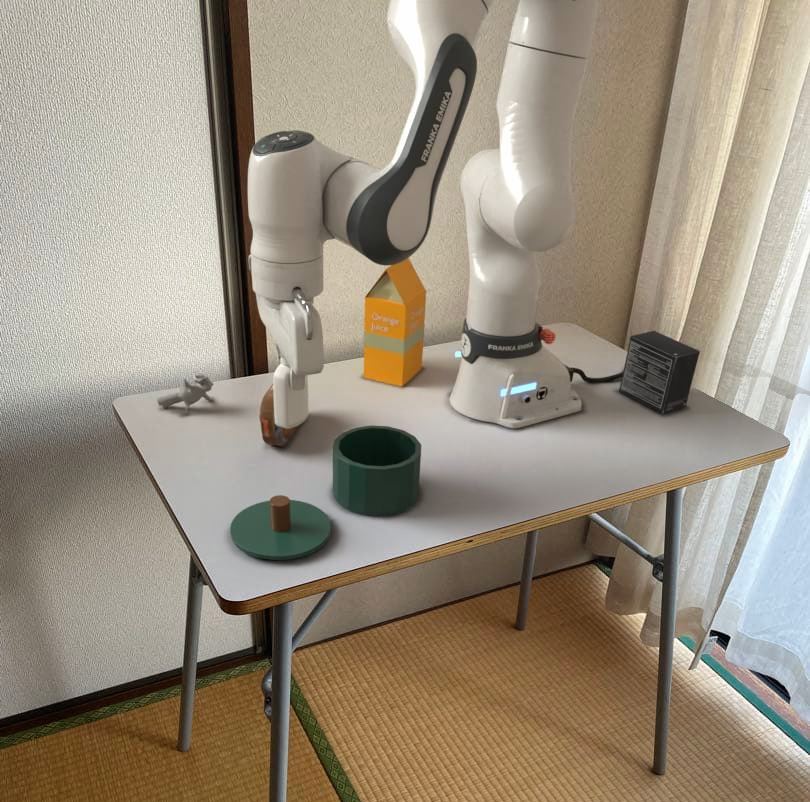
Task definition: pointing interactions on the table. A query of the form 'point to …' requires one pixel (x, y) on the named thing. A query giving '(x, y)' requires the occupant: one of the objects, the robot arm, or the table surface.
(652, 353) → the small box
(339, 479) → the pot
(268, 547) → the lid
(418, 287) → the orange juice
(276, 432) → the tin
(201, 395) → the grey creature figurine
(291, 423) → the eye dropper bottle
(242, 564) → the table surface
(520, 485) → the table surface
